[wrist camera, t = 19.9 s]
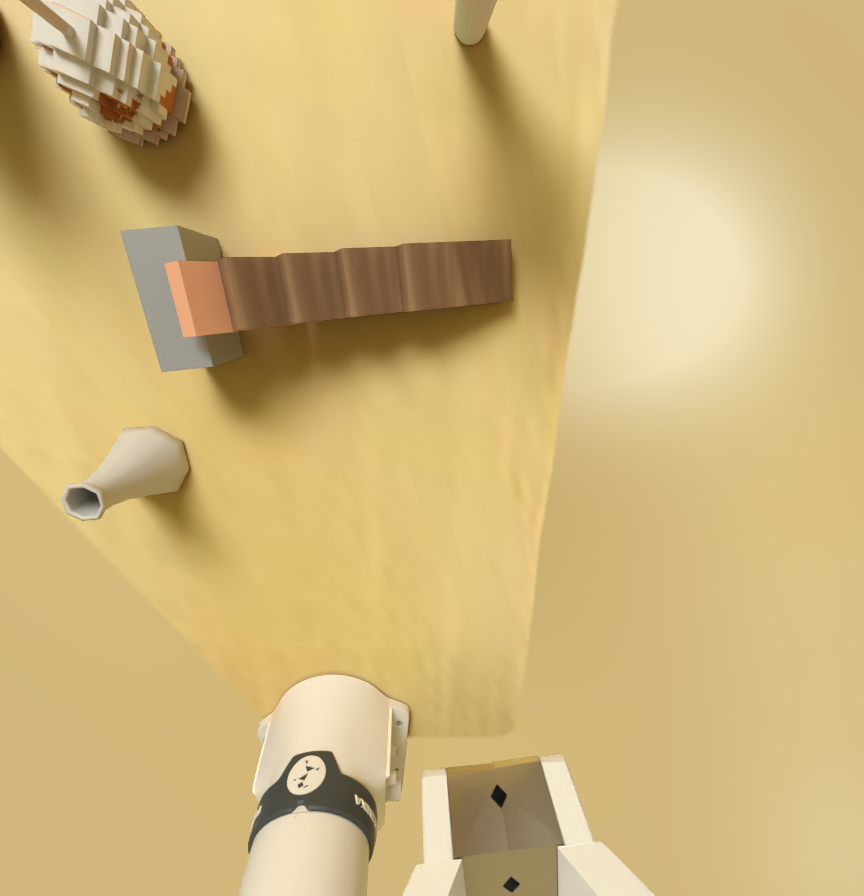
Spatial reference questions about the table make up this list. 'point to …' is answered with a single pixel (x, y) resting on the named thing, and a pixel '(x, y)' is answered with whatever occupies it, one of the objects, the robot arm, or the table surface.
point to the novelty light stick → (472, 19)
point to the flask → (129, 473)
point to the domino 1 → (200, 298)
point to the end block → (157, 301)
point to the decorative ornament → (112, 66)
